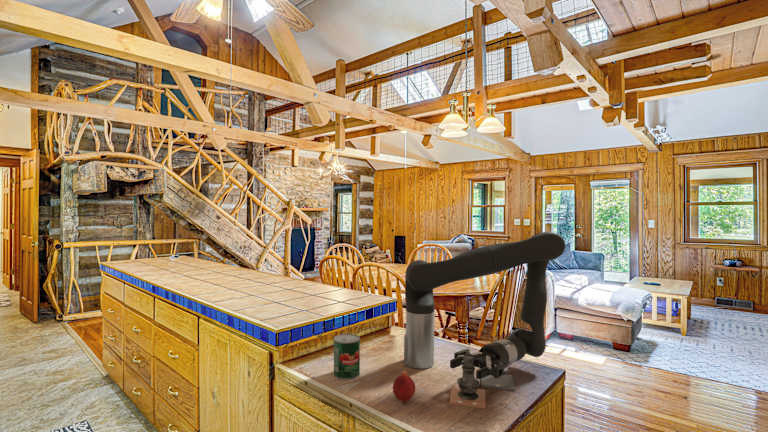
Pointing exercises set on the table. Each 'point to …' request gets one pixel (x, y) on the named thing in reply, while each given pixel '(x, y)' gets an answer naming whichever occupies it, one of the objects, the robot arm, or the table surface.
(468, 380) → the salt shaker
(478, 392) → the tile two
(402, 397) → the onion
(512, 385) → the tile one
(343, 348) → the canned tomato
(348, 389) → the table surface
